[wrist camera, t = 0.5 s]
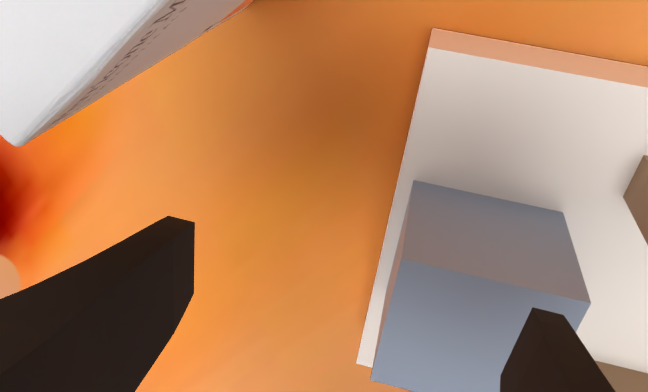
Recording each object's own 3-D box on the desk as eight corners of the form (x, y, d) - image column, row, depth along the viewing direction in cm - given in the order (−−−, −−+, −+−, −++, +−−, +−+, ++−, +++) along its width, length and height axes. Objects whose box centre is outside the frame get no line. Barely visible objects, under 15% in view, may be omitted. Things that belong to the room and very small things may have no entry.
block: (515, 320, 20) (528, 421, 16) (386, 289, 21) (369, 380, 17) (562, 212, 18) (591, 303, 14) (413, 179, 18) (401, 258, 14)
